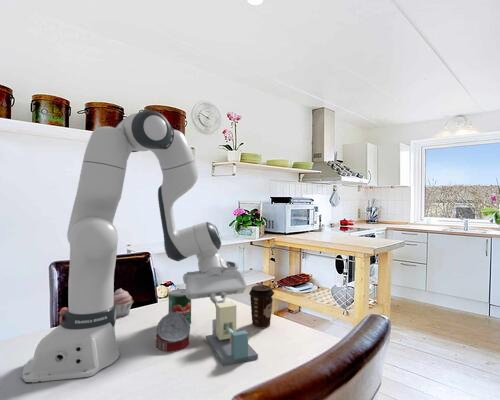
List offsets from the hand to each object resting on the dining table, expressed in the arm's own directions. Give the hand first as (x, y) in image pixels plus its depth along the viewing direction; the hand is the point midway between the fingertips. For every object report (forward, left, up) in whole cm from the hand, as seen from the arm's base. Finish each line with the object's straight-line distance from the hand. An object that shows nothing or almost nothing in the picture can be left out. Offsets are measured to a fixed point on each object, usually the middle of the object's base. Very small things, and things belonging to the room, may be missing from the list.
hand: (220, 307), depth 102 cm
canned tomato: (-10, +16, -10) cm, 21 cm away
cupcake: (-29, +33, -10) cm, 45 cm away
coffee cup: (+16, +4, -10) cm, 19 cm away
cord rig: (0, -9, -9) cm, 13 cm away
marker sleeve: (0, -5, -7) cm, 9 cm away
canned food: (-15, +1, -10) cm, 18 cm away
